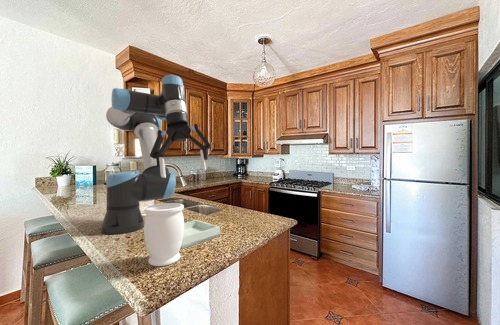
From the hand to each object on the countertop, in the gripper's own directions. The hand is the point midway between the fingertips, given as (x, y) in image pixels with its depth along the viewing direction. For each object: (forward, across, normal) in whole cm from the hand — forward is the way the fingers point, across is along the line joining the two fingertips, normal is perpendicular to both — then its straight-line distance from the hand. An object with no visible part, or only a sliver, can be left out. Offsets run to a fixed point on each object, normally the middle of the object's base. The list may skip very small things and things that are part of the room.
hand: (184, 173), depth 72 cm
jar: (+25, -7, -5) cm, 27 cm away
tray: (+21, -3, +12) cm, 24 cm away
